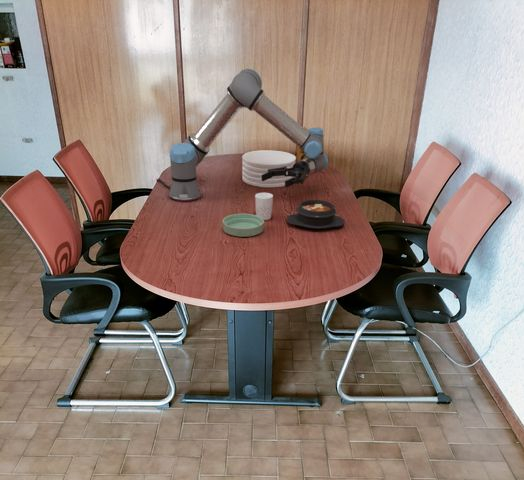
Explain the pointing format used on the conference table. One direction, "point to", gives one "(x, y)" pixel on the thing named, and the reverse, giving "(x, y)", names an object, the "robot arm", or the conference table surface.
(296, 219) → the casserole
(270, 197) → the white cup
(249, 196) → the conference table surface
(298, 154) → the coffee package
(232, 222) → the basin
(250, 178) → the plate stack
